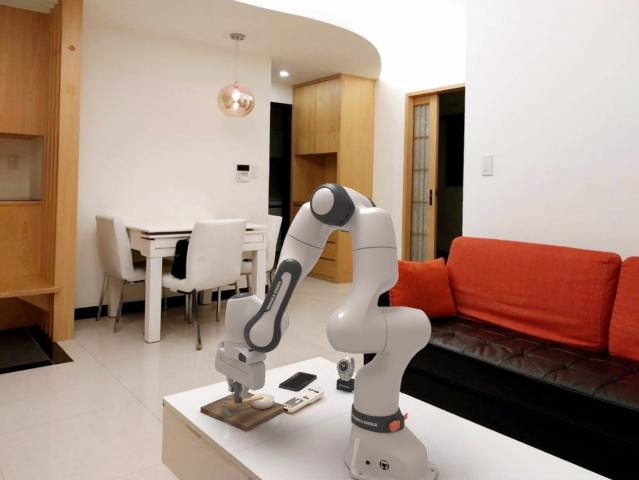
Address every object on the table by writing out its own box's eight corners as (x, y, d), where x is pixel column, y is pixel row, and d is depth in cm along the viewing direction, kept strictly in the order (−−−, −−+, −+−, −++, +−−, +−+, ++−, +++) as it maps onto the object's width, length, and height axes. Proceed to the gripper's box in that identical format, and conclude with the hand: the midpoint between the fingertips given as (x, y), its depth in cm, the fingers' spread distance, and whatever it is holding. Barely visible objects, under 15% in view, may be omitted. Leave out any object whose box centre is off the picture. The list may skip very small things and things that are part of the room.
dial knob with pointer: (267, 397, 154) (268, 371, 153) (278, 405, 148) (278, 378, 147) (227, 406, 146) (227, 379, 145) (236, 415, 140) (237, 387, 140)
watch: (333, 391, 165) (334, 359, 164) (344, 383, 172) (345, 352, 171) (348, 394, 162) (349, 362, 161) (358, 386, 169) (360, 355, 168)
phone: (277, 385, 166) (299, 371, 180) (277, 388, 166) (299, 374, 180) (298, 390, 163) (318, 375, 176) (298, 393, 163) (318, 378, 176)
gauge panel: (286, 410, 149) (286, 405, 149) (246, 431, 135) (246, 425, 135) (241, 394, 160) (241, 389, 160) (200, 412, 146) (200, 406, 146)
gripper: (210, 341, 146) (209, 385, 148) (251, 360, 132) (249, 409, 133) (228, 337, 151) (226, 380, 152) (270, 355, 136) (267, 403, 138)
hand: (237, 394), depth 143 cm, fingers open, 4 cm apart
